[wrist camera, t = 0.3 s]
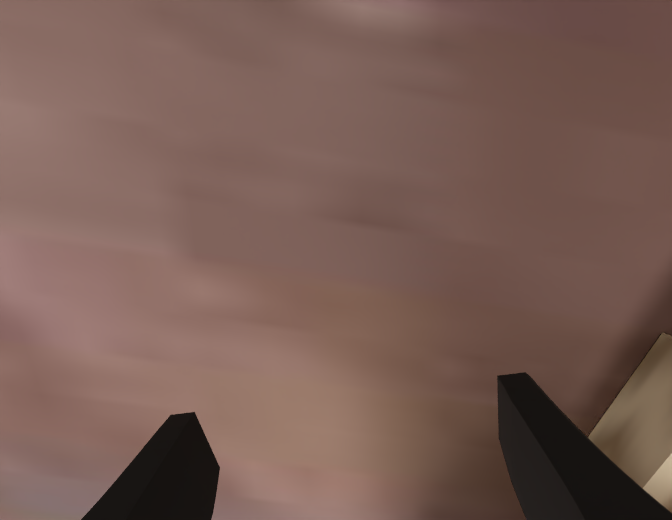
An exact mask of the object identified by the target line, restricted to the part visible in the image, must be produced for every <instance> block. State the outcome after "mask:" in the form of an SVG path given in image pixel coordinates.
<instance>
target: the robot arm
mask: <svg viewBox="0 0 672 520" xmlns="http://www.w3.org/2000/svg"><path fill="white" fill-rule="evenodd" d="M497 380H498V423H499V440H500V444H501V447H502V451H503V454H504V458H505V461H506V465H507V468H508V472H509V475H510V478H511V482H512V485H513V487H514V490H515V492H516V495H517V497H518V500H519V502H520V505H521V507H522V509H523V512H524V514H525V517H526V519H527V520H672V513H671V512H670V511H669V510H668V509H666V508H665V507H664V506H663V505H662V504H660V503H659V502H658V501H657V500H656V499H654V498H653V497H652V496H651V495H650V494H648V493H647V492H646V491H645V490H644V489H643V488H642V487H640V486H639V485H638V484H637V483H636V482H635V481H634V480H633V479H631V478H630V477H629V476H628V475H627V474H626V473H625V472H623V471H622V470H621V469H620V468H619V467H618V466H617V465H616V464H615V463H614V462H613V461H611V460H610V459H609V458H608V457H607V456H606V455H605V454H604V453H603V452H602V451H601V450H600V449H599V448H598V447H597V446H596V445H595V444H594V443H593V442H592V441H591V440H590V439H589V438H588V437H587V436H585V435H584V434H583V433H582V432H581V431H580V430H579V429H578V428H577V427H576V426H575V425H574V424H573V423H572V421H571V420H570V419H569V418H568V417H567V416H566V415H565V414H564V413H563V412H562V411H561V410H560V409H559V408H558V407H557V406H556V405H555V404H554V402H553V401H552V400H551V399H550V398H549V397H548V396H547V395H546V394H545V393H544V391H543V390H542V389H541V388H540V387H539V386H538V385H537V384H536V382H535V381H534V380H533V379H532V378H531V377H530V376H529V375H528V374H527V373H517V374H508V375H500V376H497ZM219 470H220V467H219V465H218V463H217V460H216V458H215V456H214V454H213V452H212V449H211V447H210V445H209V443H208V441H207V438H206V436H205V434H204V432H203V430H202V427H201V425H200V423H199V421H198V419H197V416H196V414H195V412H191V413H183V414H175V415H170V417H169V418H168V419H167V420H166V421H165V422H164V423H163V425H162V426H161V427H160V428H159V429H158V431H157V432H156V433H155V434H154V435H153V437H152V438H151V439H150V440H149V441H148V443H147V444H146V445H145V446H144V448H143V449H142V450H141V451H140V452H139V454H138V455H137V456H136V457H135V458H134V460H133V461H132V462H131V463H130V464H129V466H128V467H127V468H126V469H125V470H124V472H123V473H122V474H121V475H120V476H119V477H118V479H117V480H116V481H115V482H114V483H113V485H112V486H111V487H110V488H109V489H108V490H107V492H106V493H105V494H104V495H103V496H102V497H101V498H100V500H99V501H98V502H97V503H96V504H95V505H94V506H93V507H92V508H91V510H90V511H89V512H88V513H87V514H86V515H85V516H84V517H83V518H82V519H81V520H211V518H212V514H213V509H214V503H215V497H216V492H217V484H218V477H219Z"/></svg>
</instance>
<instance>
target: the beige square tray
mask: <svg viewBox="0 0 672 520" xmlns="http://www.w3.org/2000/svg"><path fill="white" fill-rule="evenodd" d="M588 438H589V439H590V440H591V441H592V442H593V443H594V444H595V445H596V446H597V447H598V448H599V449H600V450H601V451H602V452H603V453H604V454H605V455H606V456H607V457H608V458H609V459H610V460H611V461H613V462H614V463H615V464H616V465H617V466H618V467H619V468H620V469H621V470H622V471H623V472H625V473H626V474H627V475H628V476H629V477H630V478H631V479H633V480H634V481H635V482H636V483H637V484H638V485H639V486H640V487H642V488H643V489H644V490H645V491H646V492H647V493H648V494H650V495H651V496H652V497H653V498H654V499H656V500H657V501H658V502H659V503H660V504H662V505H663V506H664V507H665V508H666V509H668V510H669V511H670V512H671V513H672V336H671V335H668V334H665V333H662V334H661V335H660V337H659V338H658V339H657V341H656V342H655V344H654V345H653V346H652V348H651V349H650V351H649V352H648V353H647V355H646V356H645V358H644V359H643V361H642V362H641V363H640V365H639V366H638V368H637V369H636V370H635V372H634V373H633V375H632V376H631V377H630V379H629V380H628V382H627V383H626V384H625V386H624V387H623V389H622V390H621V391H620V393H619V394H618V396H617V397H616V398H615V400H614V401H613V403H612V404H611V405H610V407H609V408H608V410H607V411H606V412H605V414H604V415H603V417H602V418H601V419H600V421H599V422H598V424H597V425H596V427H595V428H594V429H593V431H592V432H591V434H590V435H589V436H588Z"/></svg>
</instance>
